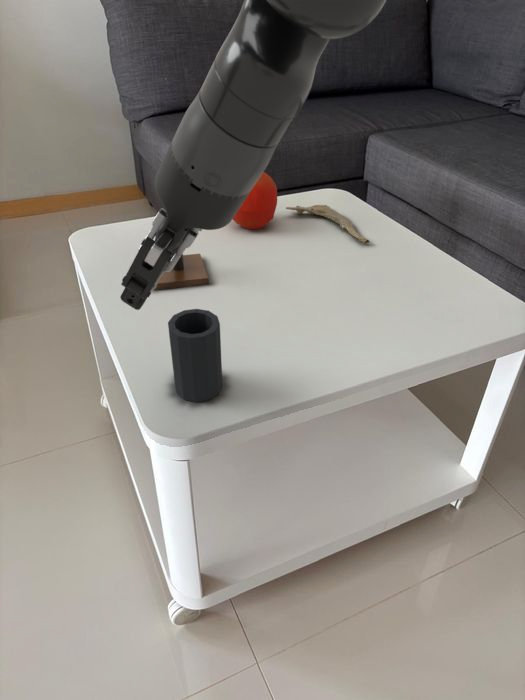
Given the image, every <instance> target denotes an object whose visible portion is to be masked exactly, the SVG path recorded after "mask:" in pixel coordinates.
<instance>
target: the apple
mask: <svg viewBox="0 0 525 700" xmlns="http://www.w3.org/2000/svg"><path fill="white" fill-rule="evenodd" d="M277 206H278V187H277V184H276V183H275V181H274V179H273V178H272V177H271V176H270V175H269V174H268V173H266V172H265V171H264V172H263V173H262V175H261V176H260V178H259V179H258V181H257V182H256V184H255V185H254V187H253V189H252V190H251V192H250V193H249V195H248V196H247V198H246V199H245V201H244V202H243V204H242V205H241V207H240V208H239V210H238V211H237V213H236V214H235V216H234V217H233V219H232V221H233V222H234V223H236V224H237V225H239V226H240V227H241V228H242V229H247V230H259V229H262V228H264V227H265V226H266V225H267V224H269V223H271V221H272V220H273V219H274V217H275V213H276V209H277Z"/></svg>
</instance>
